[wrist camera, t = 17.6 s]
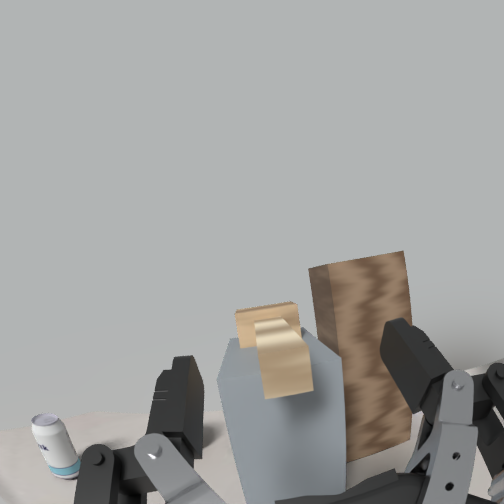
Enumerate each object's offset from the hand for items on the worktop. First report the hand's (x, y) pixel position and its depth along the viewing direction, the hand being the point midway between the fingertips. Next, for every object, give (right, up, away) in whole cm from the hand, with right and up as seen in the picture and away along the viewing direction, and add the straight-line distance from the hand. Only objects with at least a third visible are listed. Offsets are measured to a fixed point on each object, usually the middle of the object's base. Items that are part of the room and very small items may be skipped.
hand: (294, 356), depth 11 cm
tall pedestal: (+19, -29, +27) cm, 44 cm away
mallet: (+1, -6, +15) cm, 16 cm away
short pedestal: (+4, -30, +15) cm, 33 cm away
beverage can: (-35, -36, +17) cm, 53 cm away
